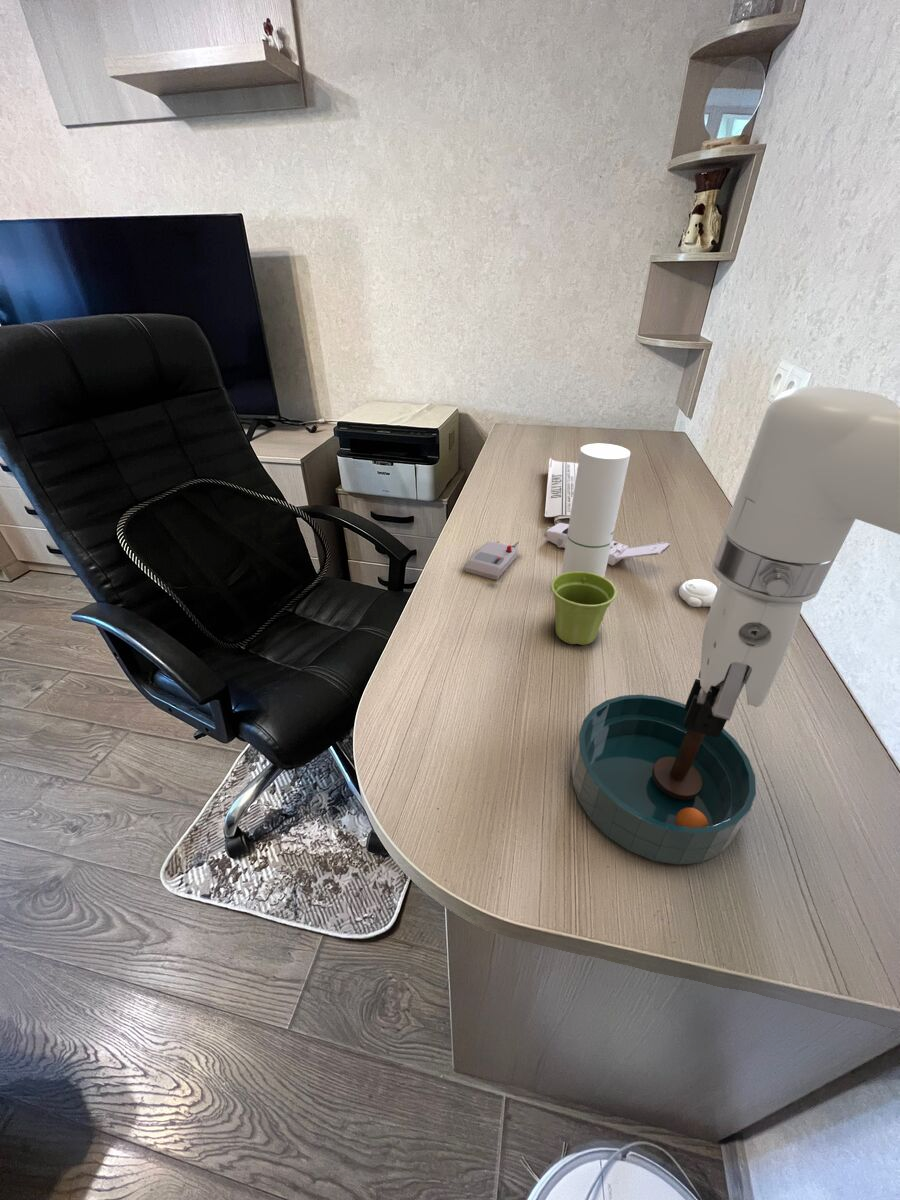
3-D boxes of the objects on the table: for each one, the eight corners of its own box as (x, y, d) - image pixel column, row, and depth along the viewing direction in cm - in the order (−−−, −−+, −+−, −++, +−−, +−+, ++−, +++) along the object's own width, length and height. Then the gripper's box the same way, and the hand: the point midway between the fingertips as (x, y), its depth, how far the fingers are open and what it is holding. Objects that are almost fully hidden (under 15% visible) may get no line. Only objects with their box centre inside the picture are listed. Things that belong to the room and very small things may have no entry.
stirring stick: (702, 771, 55) (748, 673, 47) (698, 807, 52) (747, 708, 43) (655, 754, 57) (692, 656, 49) (648, 788, 54) (686, 689, 45)
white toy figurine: (747, 626, 80) (754, 611, 78) (672, 600, 86) (676, 585, 84) (759, 602, 86) (766, 587, 84) (687, 578, 92) (692, 564, 90)
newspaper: (602, 530, 108) (605, 515, 106) (543, 526, 109) (545, 511, 107) (588, 472, 136) (590, 459, 134) (542, 469, 138) (543, 457, 136)
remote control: (459, 576, 92) (460, 561, 90) (494, 540, 103) (495, 527, 102) (493, 585, 90) (493, 570, 88) (524, 548, 101) (525, 534, 99)
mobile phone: (659, 553, 87) (538, 512, 100) (651, 582, 90) (534, 539, 104) (672, 542, 91) (553, 504, 104) (664, 570, 94) (549, 529, 108)
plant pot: (532, 631, 79) (537, 585, 74) (570, 608, 84) (578, 564, 79) (580, 661, 73) (589, 613, 68) (618, 636, 78) (629, 589, 73)
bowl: (735, 758, 59) (752, 723, 56) (736, 898, 46) (759, 864, 43) (588, 711, 65) (596, 677, 61) (554, 824, 52) (561, 789, 49)
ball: (716, 832, 50) (704, 850, 48) (686, 826, 52) (674, 842, 50) (709, 804, 50) (697, 821, 48) (679, 799, 52) (666, 814, 50)
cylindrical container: (605, 588, 89) (636, 448, 75) (592, 608, 84) (622, 462, 70) (567, 577, 92) (589, 440, 78) (552, 595, 87) (573, 453, 73)
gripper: (844, 630, 32) (745, 801, 42) (812, 528, 43) (741, 682, 54) (715, 601, 34) (652, 770, 45) (718, 513, 46) (667, 663, 56)
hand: (701, 721), depth 49 cm, fingers closed on stirring stick
